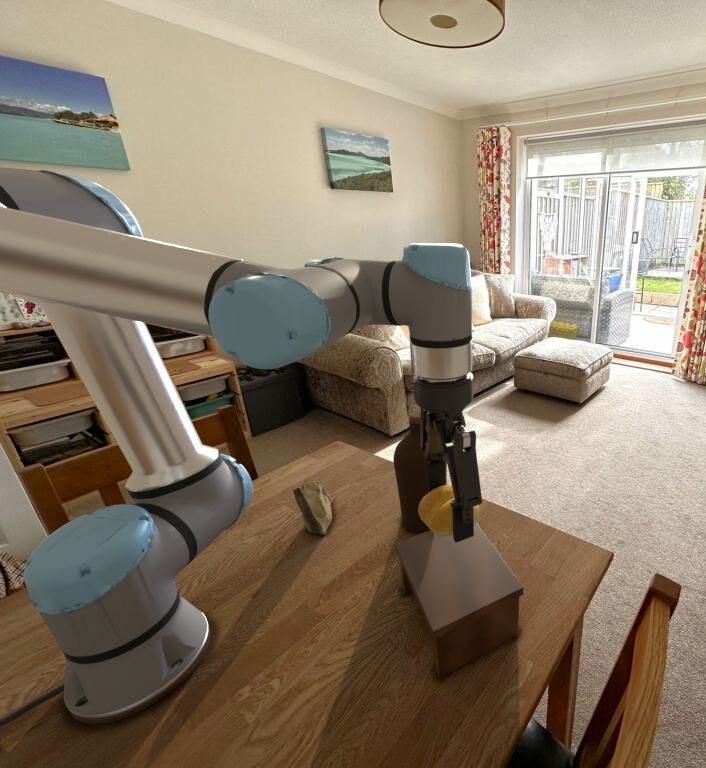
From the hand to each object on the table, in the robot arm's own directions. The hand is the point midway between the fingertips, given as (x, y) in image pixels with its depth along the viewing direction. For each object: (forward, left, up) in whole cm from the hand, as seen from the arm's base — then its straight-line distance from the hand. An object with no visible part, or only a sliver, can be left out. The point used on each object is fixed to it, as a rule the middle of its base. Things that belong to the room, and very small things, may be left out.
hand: (449, 516), depth 59 cm
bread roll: (0, 0, 0) cm, 0 cm away
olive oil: (+4, +24, -20) cm, 31 cm away
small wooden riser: (+1, 0, -19) cm, 20 cm away
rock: (-15, +35, -20) cm, 43 cm away
